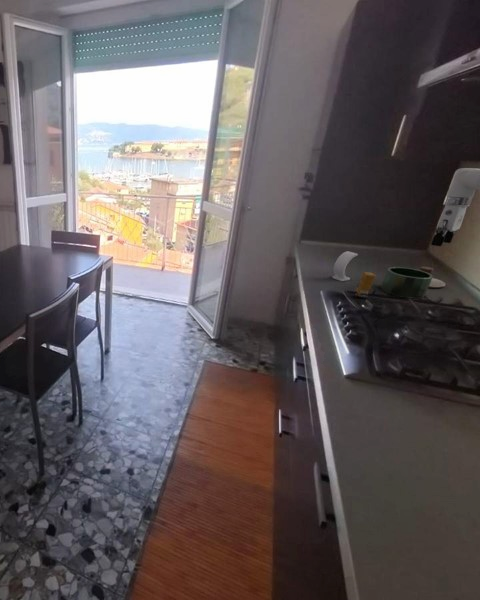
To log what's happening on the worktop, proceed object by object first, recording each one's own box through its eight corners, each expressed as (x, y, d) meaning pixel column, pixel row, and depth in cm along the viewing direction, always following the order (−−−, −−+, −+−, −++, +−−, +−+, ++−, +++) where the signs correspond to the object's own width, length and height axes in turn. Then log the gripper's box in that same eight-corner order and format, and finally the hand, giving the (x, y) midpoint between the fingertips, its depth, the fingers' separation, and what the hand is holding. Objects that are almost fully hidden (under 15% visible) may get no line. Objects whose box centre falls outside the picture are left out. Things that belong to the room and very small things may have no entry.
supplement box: (367, 299, 139) (376, 275, 135) (357, 298, 140) (365, 274, 136) (365, 296, 142) (373, 272, 138) (354, 295, 143) (362, 271, 139)
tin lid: (450, 284, 153) (456, 269, 150) (436, 291, 146) (443, 276, 143) (408, 274, 164) (413, 260, 161) (393, 280, 157) (399, 266, 155)
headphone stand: (349, 279, 159) (358, 253, 154) (340, 281, 157) (348, 255, 152) (339, 276, 163) (347, 251, 158) (330, 278, 161) (337, 252, 156)
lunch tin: (429, 294, 143) (438, 274, 140) (415, 301, 137) (424, 280, 134) (389, 283, 154) (396, 265, 151) (374, 290, 148) (381, 270, 144)
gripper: (462, 204, 133) (444, 248, 140) (478, 200, 141) (460, 243, 148) (436, 202, 139) (420, 245, 146) (452, 198, 147) (437, 239, 154)
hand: (440, 243), depth 147 cm, fingers open, 9 cm apart
